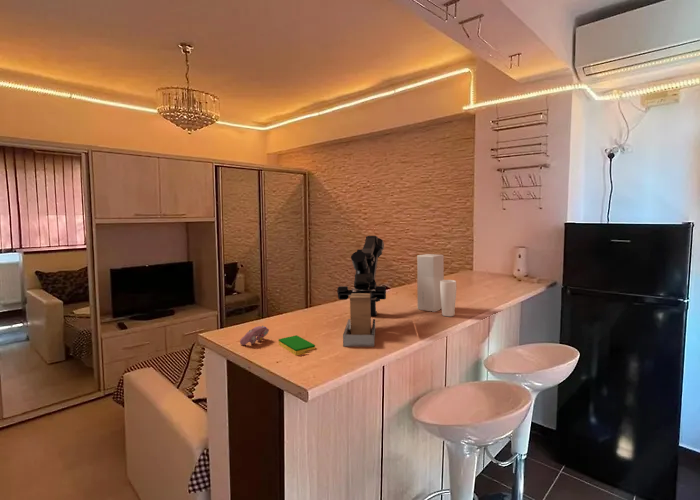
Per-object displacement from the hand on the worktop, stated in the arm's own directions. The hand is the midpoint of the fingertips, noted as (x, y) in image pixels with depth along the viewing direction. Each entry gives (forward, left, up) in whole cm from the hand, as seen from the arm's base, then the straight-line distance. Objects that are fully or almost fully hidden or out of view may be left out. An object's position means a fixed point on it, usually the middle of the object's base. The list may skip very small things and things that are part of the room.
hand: (361, 311), depth 146 cm
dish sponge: (+18, -21, -8) cm, 29 cm away
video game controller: (+13, -37, -8) cm, 40 cm away
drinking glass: (-24, +36, -8) cm, 44 cm away
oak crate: (+4, 0, -7) cm, 8 cm away
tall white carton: (-36, +30, -8) cm, 48 cm away
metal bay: (+9, 0, -8) cm, 12 cm away
